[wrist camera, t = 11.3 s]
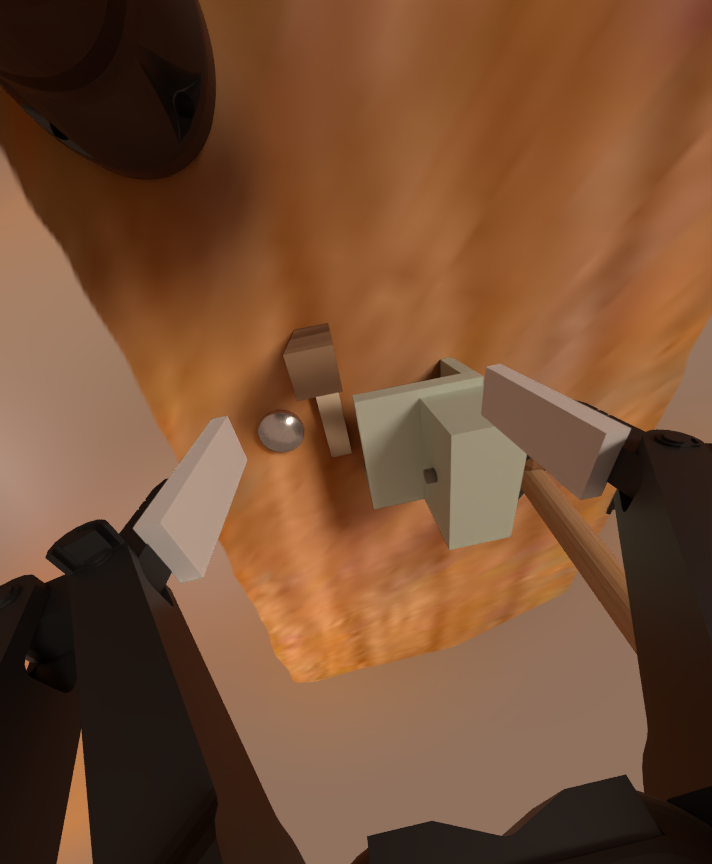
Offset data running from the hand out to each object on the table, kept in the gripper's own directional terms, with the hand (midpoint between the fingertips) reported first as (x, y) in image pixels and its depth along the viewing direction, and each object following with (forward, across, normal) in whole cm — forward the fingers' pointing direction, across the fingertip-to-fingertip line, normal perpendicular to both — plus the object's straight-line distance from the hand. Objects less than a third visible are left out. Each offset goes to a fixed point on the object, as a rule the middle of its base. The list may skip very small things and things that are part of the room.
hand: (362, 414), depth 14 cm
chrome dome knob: (+22, -10, -11) cm, 26 cm away
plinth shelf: (+21, +8, -14) cm, 26 cm away
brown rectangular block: (+22, -3, -8) cm, 23 cm away
